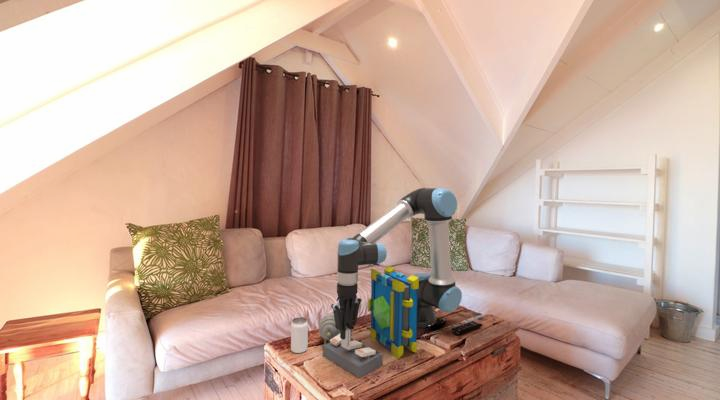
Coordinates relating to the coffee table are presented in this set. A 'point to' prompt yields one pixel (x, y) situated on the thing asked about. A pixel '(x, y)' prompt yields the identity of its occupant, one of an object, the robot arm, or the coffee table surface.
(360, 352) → the small box
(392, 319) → the decorative book
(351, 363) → the rocker switch panel
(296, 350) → the can
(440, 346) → the coffee table surface
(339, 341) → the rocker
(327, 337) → the grey ribbed rounded piece
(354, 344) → the rocker
